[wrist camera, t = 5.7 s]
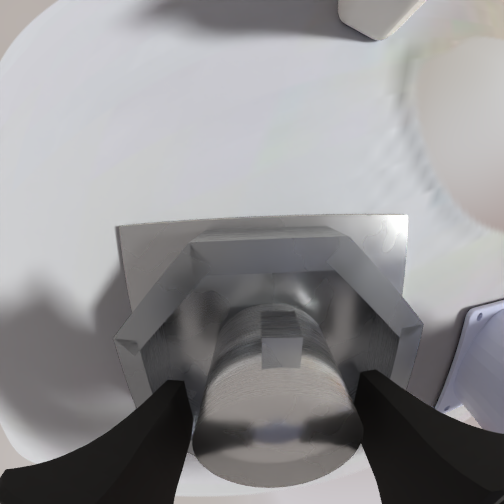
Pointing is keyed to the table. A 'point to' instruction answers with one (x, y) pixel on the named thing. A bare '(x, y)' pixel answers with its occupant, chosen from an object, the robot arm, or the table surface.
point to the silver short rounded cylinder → (274, 402)
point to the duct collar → (264, 293)
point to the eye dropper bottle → (377, 15)
